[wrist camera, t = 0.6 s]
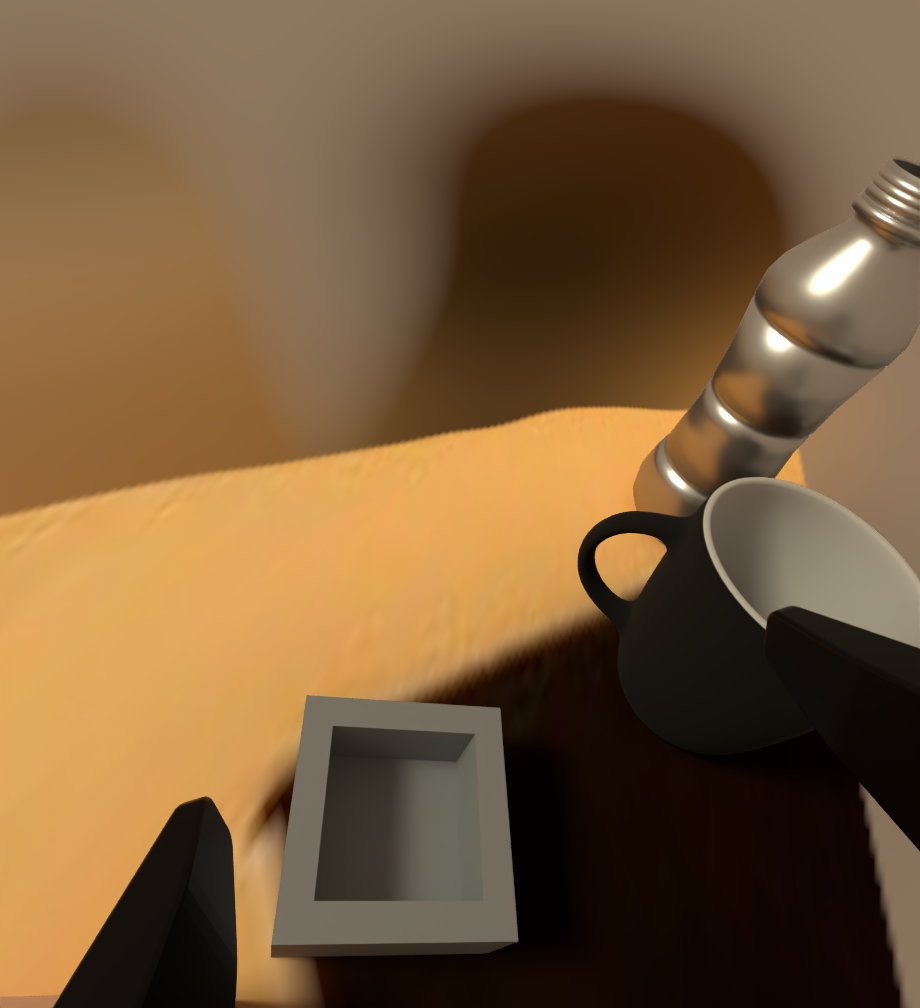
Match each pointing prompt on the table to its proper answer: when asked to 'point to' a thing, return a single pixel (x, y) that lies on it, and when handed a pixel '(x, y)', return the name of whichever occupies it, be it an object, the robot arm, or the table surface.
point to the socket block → (397, 833)
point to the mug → (742, 607)
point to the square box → (28, 1002)
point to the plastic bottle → (799, 348)
